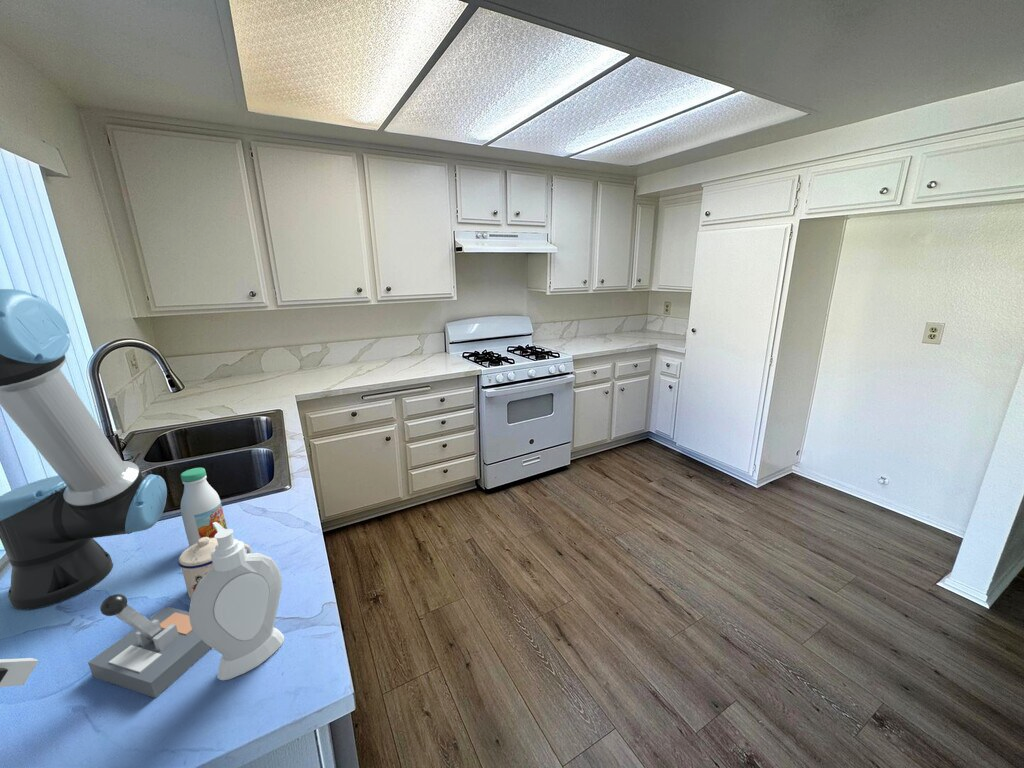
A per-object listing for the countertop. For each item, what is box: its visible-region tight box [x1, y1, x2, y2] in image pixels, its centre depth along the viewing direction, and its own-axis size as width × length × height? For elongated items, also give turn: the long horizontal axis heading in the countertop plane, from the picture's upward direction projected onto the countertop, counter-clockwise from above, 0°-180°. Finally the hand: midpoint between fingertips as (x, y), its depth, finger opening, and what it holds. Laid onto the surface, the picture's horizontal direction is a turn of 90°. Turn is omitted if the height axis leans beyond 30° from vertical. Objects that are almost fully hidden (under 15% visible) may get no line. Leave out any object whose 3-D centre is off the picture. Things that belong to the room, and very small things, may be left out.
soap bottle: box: [188, 522, 285, 681], centre depth 67 cm, size 13×8×24 cm, turn 140°
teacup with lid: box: [177, 537, 252, 600], centre depth 85 cm, size 12×9×12 cm
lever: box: [100, 593, 163, 642], centre depth 66 cm, size 3×3×13 cm
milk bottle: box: [180, 467, 228, 548], centre depth 97 cm, size 8×8×20 cm
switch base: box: [87, 606, 213, 699], centre depth 70 cm, size 12×14×5 cm
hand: (27, 671), depth 54 cm, fingers closed
